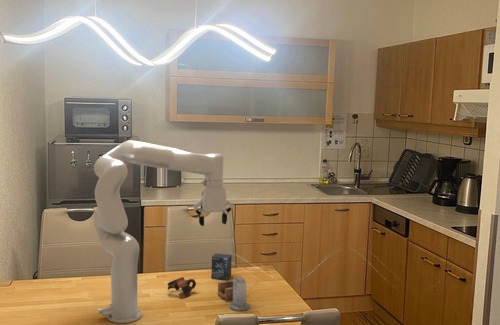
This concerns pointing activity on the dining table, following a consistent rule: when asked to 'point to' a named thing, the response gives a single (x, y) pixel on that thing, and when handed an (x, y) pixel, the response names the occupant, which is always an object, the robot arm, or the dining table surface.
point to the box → (221, 266)
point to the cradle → (225, 290)
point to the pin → (239, 292)
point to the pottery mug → (182, 286)
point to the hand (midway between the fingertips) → (213, 224)
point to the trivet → (239, 307)
